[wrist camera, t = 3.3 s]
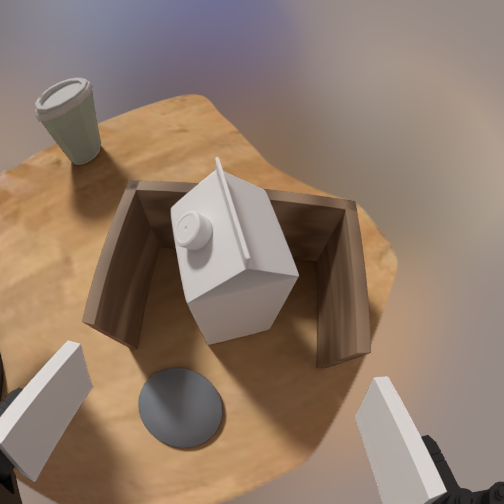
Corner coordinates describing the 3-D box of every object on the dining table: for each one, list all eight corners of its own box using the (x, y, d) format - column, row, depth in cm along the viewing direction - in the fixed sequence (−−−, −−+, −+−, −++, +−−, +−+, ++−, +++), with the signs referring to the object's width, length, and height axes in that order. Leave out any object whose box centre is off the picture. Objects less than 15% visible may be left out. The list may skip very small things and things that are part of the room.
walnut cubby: (127, 346, 28) (82, 321, 18) (152, 237, 35) (129, 180, 25) (326, 367, 28) (370, 352, 19) (324, 254, 35) (355, 201, 26)
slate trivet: (137, 437, 23) (135, 437, 22) (145, 361, 27) (143, 361, 27) (219, 452, 23) (218, 453, 23) (226, 374, 28) (225, 373, 27)
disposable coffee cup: (118, 133, 45) (100, 67, 32) (100, 173, 40) (70, 100, 27) (74, 140, 45) (51, 81, 31) (53, 178, 39) (20, 116, 26)
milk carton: (252, 273, 33) (272, 149, 17) (269, 330, 30) (317, 243, 14) (193, 287, 32) (158, 168, 15) (207, 345, 29) (172, 275, 12)
